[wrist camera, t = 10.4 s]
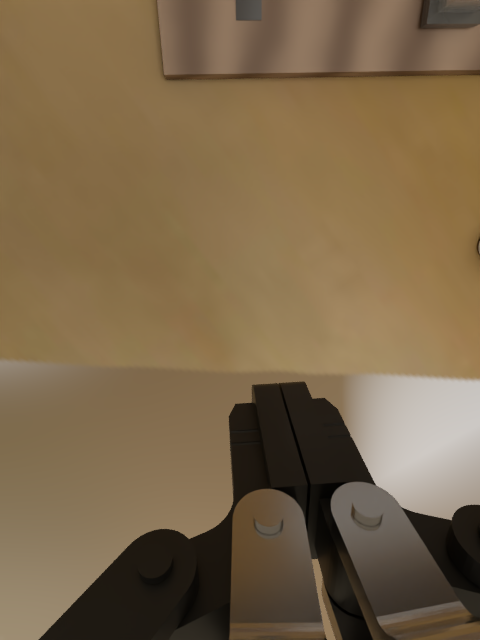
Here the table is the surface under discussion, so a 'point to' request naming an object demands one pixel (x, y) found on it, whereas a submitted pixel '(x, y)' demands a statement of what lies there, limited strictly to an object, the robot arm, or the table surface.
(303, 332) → the table surface
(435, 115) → the table surface
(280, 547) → the robot arm
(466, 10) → the grey switch
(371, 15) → the switch board
